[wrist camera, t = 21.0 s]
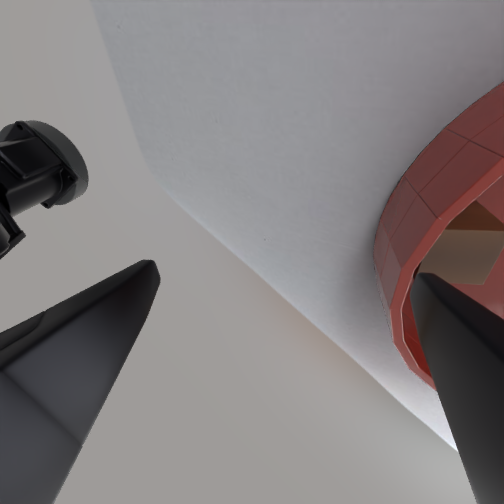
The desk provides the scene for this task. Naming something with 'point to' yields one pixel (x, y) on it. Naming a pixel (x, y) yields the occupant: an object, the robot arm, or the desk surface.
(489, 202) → the red round bowl
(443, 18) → the desk surface
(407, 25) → the desk surface
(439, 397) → the robot arm
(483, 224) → the block
